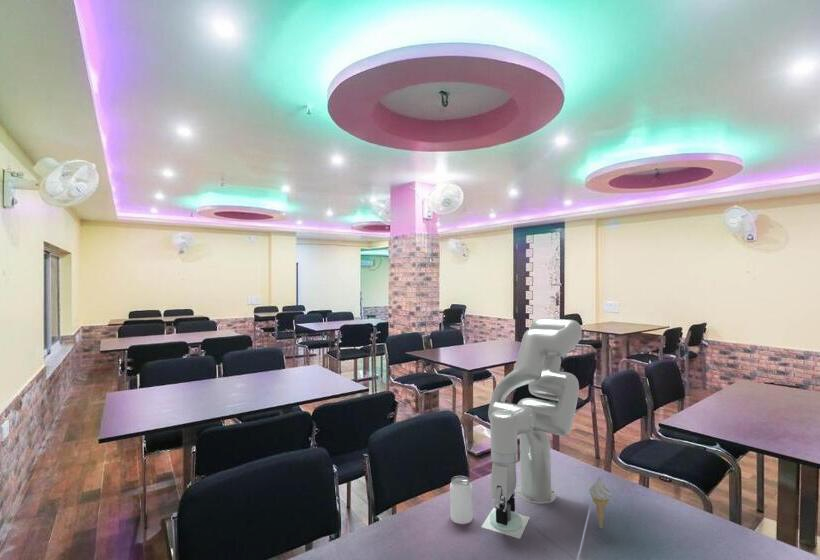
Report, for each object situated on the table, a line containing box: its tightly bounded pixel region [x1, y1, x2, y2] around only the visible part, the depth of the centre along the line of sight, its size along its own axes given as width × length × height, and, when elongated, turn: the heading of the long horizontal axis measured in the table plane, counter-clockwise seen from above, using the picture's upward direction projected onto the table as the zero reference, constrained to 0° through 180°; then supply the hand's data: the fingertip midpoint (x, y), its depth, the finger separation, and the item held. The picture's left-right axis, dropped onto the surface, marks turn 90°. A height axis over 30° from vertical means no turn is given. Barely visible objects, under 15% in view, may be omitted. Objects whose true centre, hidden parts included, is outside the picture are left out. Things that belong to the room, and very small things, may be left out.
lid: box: [490, 501, 522, 532], centre depth 117 cm, size 9×9×5 cm
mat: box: [480, 507, 530, 540], centre depth 117 cm, size 11×11×1 cm
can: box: [449, 475, 474, 525], centre depth 120 cm, size 6×6×12 cm
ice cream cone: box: [589, 475, 612, 530], centre depth 114 cm, size 6×6×15 cm
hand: (505, 516), depth 117 cm, fingers open, 6 cm apart
